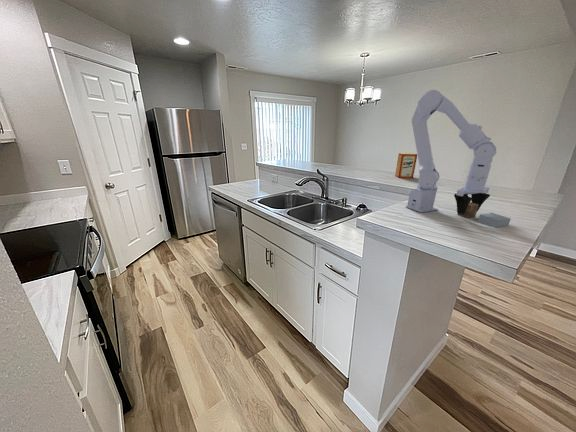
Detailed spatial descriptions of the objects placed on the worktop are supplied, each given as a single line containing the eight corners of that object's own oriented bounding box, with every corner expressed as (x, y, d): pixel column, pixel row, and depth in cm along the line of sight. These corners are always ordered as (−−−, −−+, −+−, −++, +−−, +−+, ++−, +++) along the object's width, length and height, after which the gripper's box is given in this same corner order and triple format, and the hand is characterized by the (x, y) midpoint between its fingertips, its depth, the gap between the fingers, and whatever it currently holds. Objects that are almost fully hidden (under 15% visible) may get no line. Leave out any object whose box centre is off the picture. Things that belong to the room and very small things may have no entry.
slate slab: (495, 228, 79) (498, 220, 78) (477, 222, 84) (480, 214, 83) (507, 226, 81) (510, 218, 80) (489, 220, 86) (491, 212, 85)
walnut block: (467, 218, 87) (471, 205, 85) (457, 215, 91) (460, 202, 89) (475, 217, 89) (478, 204, 87) (464, 213, 92) (467, 201, 90)
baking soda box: (409, 176, 164) (413, 152, 158) (412, 178, 158) (417, 153, 152) (395, 176, 165) (398, 152, 159) (398, 177, 159) (402, 153, 153)
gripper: (475, 180, 78) (464, 218, 83) (502, 177, 83) (491, 213, 88) (454, 176, 85) (445, 212, 89) (481, 174, 89) (471, 207, 94)
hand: (467, 212), depth 89 cm, fingers open, 7 cm apart
